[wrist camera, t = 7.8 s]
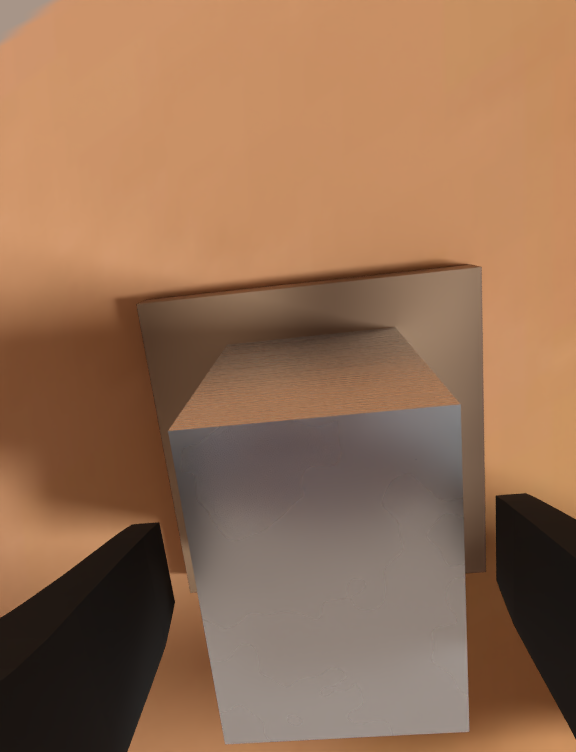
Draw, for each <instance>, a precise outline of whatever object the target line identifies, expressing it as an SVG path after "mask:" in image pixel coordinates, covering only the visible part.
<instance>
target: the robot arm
mask: <svg viewBox="0 0 576 752" xmlns="http://www.w3.org/2000/svg"><path fill="white" fill-rule="evenodd" d="M496 580H497V583H498V585H499V588H500V591H501V593H502V596H503V599H504V601H505V604H506V607H507V609H508V612H509V614H510V617H511V619H512V621H513V624H514V626H515V628H516V630H517V632H518V634H519V635H520V637H521V639H522V641H523V643H524V645H525V647H526V648H527V650H528V652H529V654H530V656H531V658H532V660H533V661H534V663H535V665H536V667H537V669H538V671H539V672H540V674H541V676H542V678H543V680H544V681H545V683H546V685H547V687H548V689H549V691H550V692H551V694H552V696H553V698H554V700H555V701H556V703H557V705H558V707H559V709H560V711H561V712H562V714H563V716H564V718H565V720H566V722H567V723H568V725H569V727H570V729H571V731H572V733H573V735H574V737H575V739H576V519H574V518H572V517H570V516H569V515H567V514H565V513H563V512H561V511H559V510H558V509H556V508H554V507H552V506H550V505H548V504H547V503H545V502H543V501H541V500H539V499H537V498H535V497H533V496H531V495H528V494H526V493H523V494H511V495H498V496H496ZM174 604H175V600H174V595H173V590H172V585H171V580H170V575H169V570H168V564H167V559H166V554H165V549H164V544H163V539H162V534H161V529H160V524H159V522H158V523H145V524H133V525H131V526H129V527H127V528H126V529H124V530H123V531H121V532H120V533H118V534H117V535H116V536H114V537H113V538H112V539H110V540H109V541H108V542H106V543H105V544H104V545H102V546H101V547H100V548H98V549H97V550H96V551H94V552H93V553H92V554H90V555H89V556H88V557H87V558H85V559H84V560H83V561H81V562H80V563H79V564H77V565H76V566H75V567H73V568H72V569H71V570H69V571H68V572H67V573H65V574H64V575H63V576H61V577H60V578H58V579H57V580H56V581H54V582H53V583H51V584H50V585H48V586H47V587H46V588H44V589H43V590H41V591H40V592H39V593H37V594H36V595H34V596H33V597H31V598H30V599H29V600H27V601H26V602H24V603H23V604H21V605H20V606H18V607H17V608H15V609H14V610H12V611H11V612H9V613H7V614H6V615H4V616H3V617H1V618H0V752H127V751H128V748H129V746H130V743H131V740H132V737H133V735H134V732H135V729H136V727H137V724H138V721H139V718H140V716H141V713H142V710H143V707H144V705H145V702H146V699H147V696H148V694H149V691H150V688H151V685H152V683H153V680H154V677H155V674H156V672H157V669H158V666H159V663H160V660H161V657H162V655H163V652H164V649H165V646H166V641H167V637H168V633H169V628H170V624H171V619H172V614H173V609H174Z"/></svg>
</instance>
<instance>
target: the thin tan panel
mask: <svg viewBox="0 0 576 752" xmlns="http://www.w3.org/2000/svg"><path fill="white" fill-rule="evenodd" d="M136 305H137V310H138V316H139V321H140V326H141V332H142V337H143V342H144V348H145V353H146V358H147V364H148V369H149V374H150V380H151V385H152V390H153V396H154V401H155V406H156V412H157V417H158V422H159V428H160V433H161V439H162V444H163V449H164V455H165V460H166V465H167V471H168V476H169V481H170V487H171V492H172V497H173V503H174V508H175V513H176V519H177V524H178V529H179V535H180V540H181V545H182V551H183V556H184V561H185V567H186V572H187V578H188V583H189V588H190V593H196V592H197V587H196V582H195V576H194V571H193V566H192V560H191V555H190V549H189V544H188V538H187V533H186V527H185V522H184V516H183V511H182V505H181V500H180V494H179V489H178V483H177V478H176V472H175V467H174V462H173V456H172V451H171V445H170V440H169V434H168V430H169V429H170V427H171V426H172V424H173V423H174V422H175V420H176V419H177V417H178V416H179V414H180V413H181V411H182V410H183V408H184V407H185V405H186V404H187V403H188V401H189V400H190V398H191V397H192V395H193V394H194V392H195V391H196V389H197V388H198V387H199V385H200V384H201V382H202V381H203V379H204V378H205V376H206V375H207V373H208V372H209V370H210V369H211V368H212V366H213V365H214V363H215V362H216V360H217V359H218V357H219V356H220V354H221V353H222V352H223V350H224V349H225V347H226V346H227V344H237V343H247V342H257V341H267V340H276V339H286V338H296V337H306V336H316V335H326V334H335V333H345V332H355V331H365V330H375V329H385V328H394V327H396V328H397V330H398V331H399V332H400V333H401V334H402V335H403V337H404V338H405V339H406V340H407V341H408V343H409V344H410V345H411V346H412V347H413V348H414V350H415V351H416V352H417V353H418V354H419V356H420V357H421V358H422V359H423V360H424V362H425V363H426V364H427V365H428V366H429V367H430V369H431V370H432V371H433V372H434V373H435V375H436V376H437V377H438V378H439V379H440V380H441V382H442V383H443V384H444V385H445V386H446V388H447V389H448V390H449V391H450V392H451V394H452V395H453V396H454V397H455V398H456V399H457V401H458V402H459V403H460V404H461V438H462V475H463V513H464V550H465V573H478V572H486V535H485V467H484V399H483V331H482V267H479V266H475V265H462V266H453V267H444V268H434V269H425V270H416V271H407V272H398V273H388V274H379V275H370V276H361V277H351V278H342V279H333V280H324V281H315V282H305V283H296V284H287V285H278V286H268V287H259V288H250V289H241V290H232V291H222V292H213V293H204V294H195V295H185V296H176V297H167V298H158V299H149V300H145V301H143V302H140V303H138V304H136Z"/></svg>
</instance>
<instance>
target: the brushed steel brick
mask: <svg viewBox="0 0 576 752" xmlns="http://www.w3.org/2000/svg"><path fill="white" fill-rule="evenodd" d="M168 434H169V440H170V445H171V451H172V456H173V462H174V467H175V472H176V478H177V483H178V489H179V494H180V500H181V505H182V511H183V516H184V522H185V527H186V533H187V538H188V544H189V549H190V555H191V560H192V566H193V571H194V576H195V582H196V587H197V593H198V598H199V604H200V609H201V615H202V620H203V626H204V631H205V637H206V642H207V648H208V653H209V659H210V664H211V669H212V675H213V680H214V686H215V691H216V697H217V702H218V708H219V713H220V719H221V724H222V730H223V735H224V741H225V744H240V743H260V742H279V741H299V740H318V739H338V738H357V737H377V736H396V735H416V734H435V733H455V732H469V700H468V663H467V625H466V588H465V550H464V513H463V475H462V438H461V404H460V403H459V402H458V401H457V399H456V398H455V397H454V396H453V395H452V394H451V392H450V391H449V390H448V389H447V388H446V386H445V385H444V384H443V383H442V382H441V380H440V379H439V378H438V377H437V376H436V375H435V373H434V372H433V371H432V370H431V369H430V367H429V366H428V365H427V364H426V363H425V362H424V360H423V359H422V358H421V357H420V356H419V354H418V353H417V352H416V351H415V350H414V348H413V347H412V346H411V345H410V344H409V343H408V341H407V340H406V339H405V338H404V337H403V335H402V334H401V333H400V332H399V331H398V330H397V328H396V327H394V328H385V329H375V330H365V331H355V332H345V333H335V334H326V335H316V336H306V337H296V338H286V339H276V340H267V341H257V342H247V343H237V344H227V346H226V347H225V349H224V350H223V352H222V353H221V354H220V356H219V357H218V359H217V360H216V362H215V363H214V365H213V366H212V368H211V369H210V370H209V372H208V373H207V375H206V376H205V378H204V379H203V381H202V382H201V384H200V385H199V387H198V388H197V389H196V391H195V392H194V394H193V395H192V397H191V398H190V400H189V401H188V403H187V404H186V405H185V407H184V408H183V410H182V411H181V413H180V414H179V416H178V417H177V419H176V420H175V422H174V423H173V424H172V426H171V427H170V429H169V430H168Z"/></svg>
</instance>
